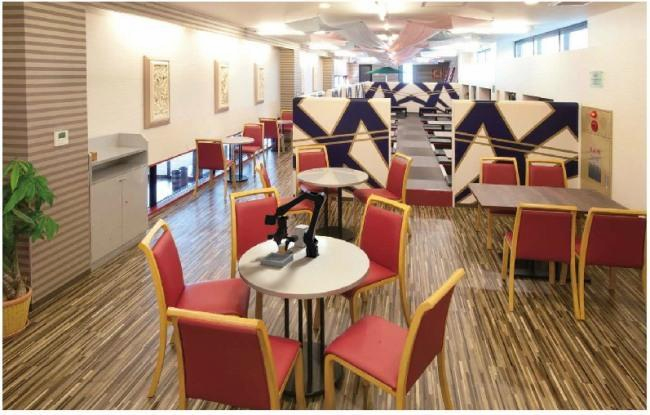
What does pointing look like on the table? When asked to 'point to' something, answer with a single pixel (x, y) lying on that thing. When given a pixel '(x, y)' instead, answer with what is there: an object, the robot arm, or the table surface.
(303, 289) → the table surface
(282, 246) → the white and orange block
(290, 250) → the holder
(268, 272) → the table surface
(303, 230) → the supplement box
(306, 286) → the table surface
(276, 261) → the tray
